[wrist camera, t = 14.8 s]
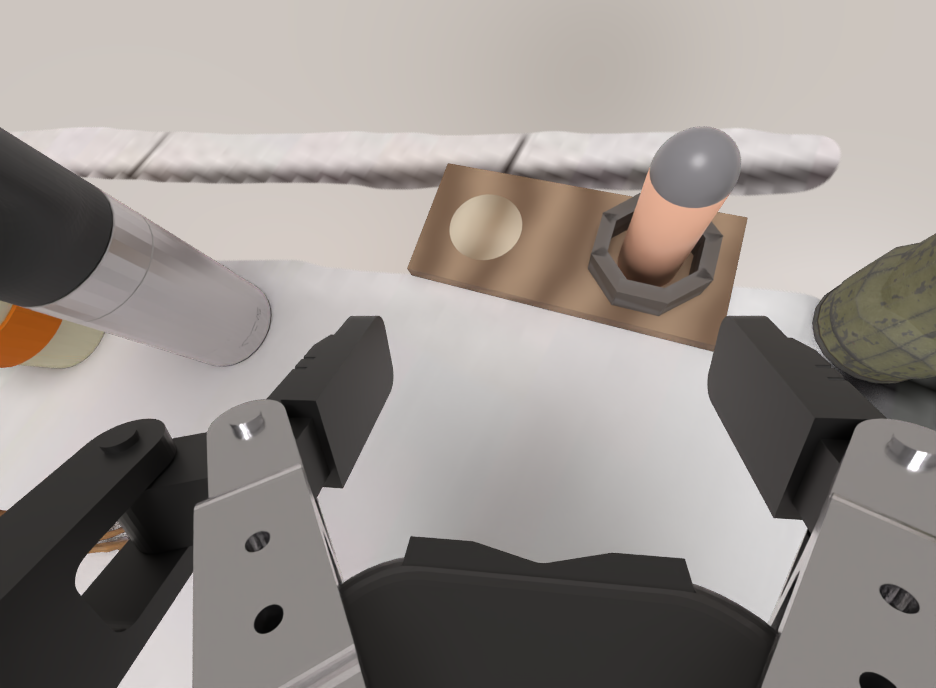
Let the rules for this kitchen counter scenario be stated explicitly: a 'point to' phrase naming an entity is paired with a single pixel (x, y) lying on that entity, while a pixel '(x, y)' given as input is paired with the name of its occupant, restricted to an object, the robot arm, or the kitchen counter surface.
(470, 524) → the kitchen counter surface
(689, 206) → the round-topped orange cylinder
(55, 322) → the reusable coffee cup
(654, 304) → the jig
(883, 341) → the thermos
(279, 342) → the kitchen counter surface
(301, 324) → the kitchen counter surface
